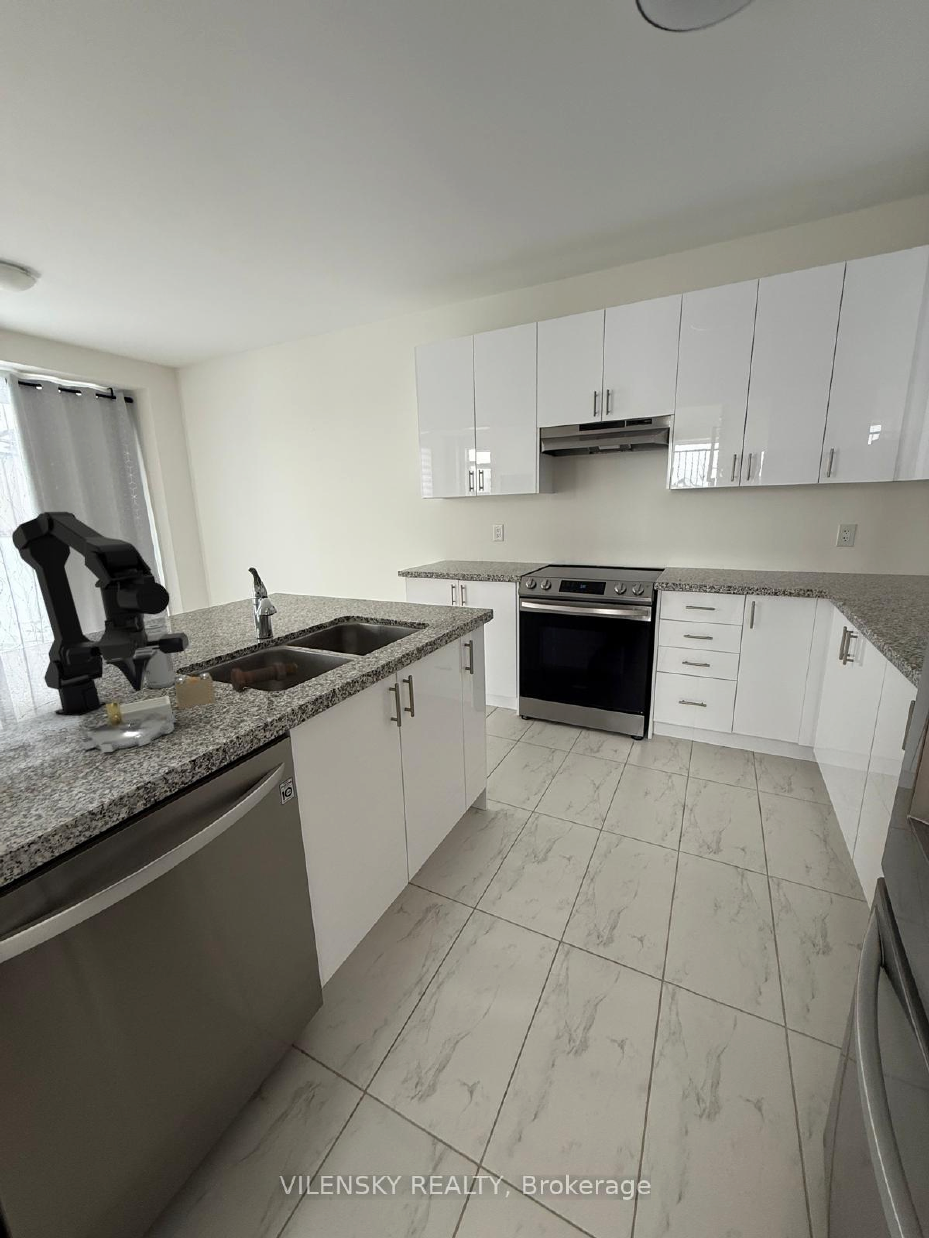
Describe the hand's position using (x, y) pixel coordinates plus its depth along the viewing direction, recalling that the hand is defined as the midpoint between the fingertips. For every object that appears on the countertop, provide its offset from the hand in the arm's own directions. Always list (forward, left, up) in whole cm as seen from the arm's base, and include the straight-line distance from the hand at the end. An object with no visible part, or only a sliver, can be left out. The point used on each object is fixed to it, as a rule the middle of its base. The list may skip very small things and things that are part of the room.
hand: (138, 690), depth 96 cm
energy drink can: (-17, +23, -8) cm, 29 cm away
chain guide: (-5, +5, -8) cm, 11 cm away
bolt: (+9, +27, -8) cm, 30 cm away
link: (+1, +13, -8) cm, 15 cm away
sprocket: (+1, -4, -8) cm, 8 cm away
